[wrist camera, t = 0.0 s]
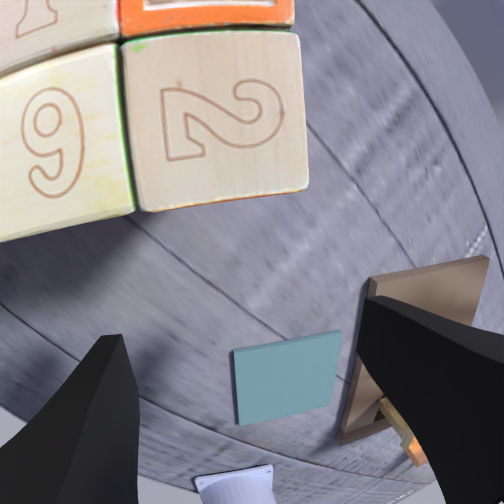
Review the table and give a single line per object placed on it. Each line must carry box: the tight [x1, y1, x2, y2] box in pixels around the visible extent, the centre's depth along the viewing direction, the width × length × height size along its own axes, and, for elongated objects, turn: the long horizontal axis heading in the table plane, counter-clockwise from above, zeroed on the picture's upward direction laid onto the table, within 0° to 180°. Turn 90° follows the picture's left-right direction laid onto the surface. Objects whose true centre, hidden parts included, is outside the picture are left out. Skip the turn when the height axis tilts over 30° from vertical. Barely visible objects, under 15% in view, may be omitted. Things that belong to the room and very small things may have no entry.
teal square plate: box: [233, 330, 342, 426], centre depth 23 cm, size 8×8×1 cm
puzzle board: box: [336, 255, 490, 446], centre depth 26 cm, size 19×14×1 cm
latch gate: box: [377, 397, 428, 467], centre depth 23 cm, size 2×8×8 cm, turn 91°
